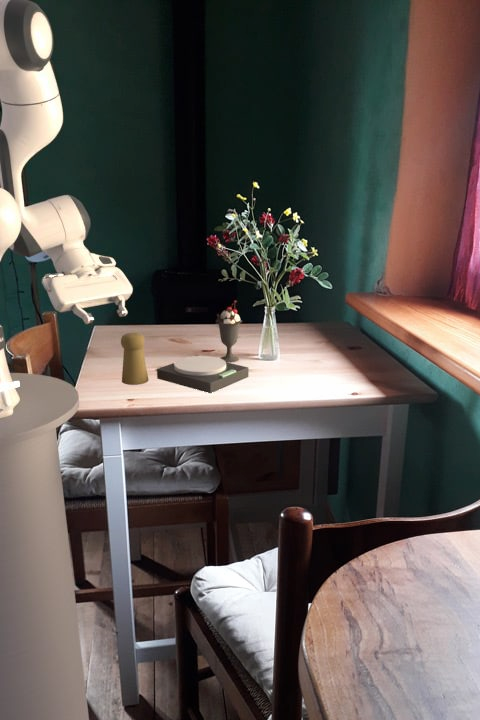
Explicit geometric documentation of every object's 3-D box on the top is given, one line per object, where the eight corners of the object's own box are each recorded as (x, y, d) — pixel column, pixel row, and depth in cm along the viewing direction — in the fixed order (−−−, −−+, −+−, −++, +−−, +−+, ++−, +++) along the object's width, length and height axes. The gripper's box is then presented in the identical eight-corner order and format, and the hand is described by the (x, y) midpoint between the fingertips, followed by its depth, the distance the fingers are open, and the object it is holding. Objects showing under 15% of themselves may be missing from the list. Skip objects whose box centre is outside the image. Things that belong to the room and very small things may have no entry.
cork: (145, 385, 138) (143, 337, 134) (118, 384, 138) (115, 337, 134) (150, 376, 144) (148, 330, 140) (125, 375, 144) (121, 330, 140)
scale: (210, 393, 134) (210, 378, 133) (157, 378, 143) (156, 364, 141) (248, 377, 145) (248, 363, 144) (196, 364, 153) (196, 350, 152)
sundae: (246, 357, 159) (246, 299, 154) (236, 364, 153) (236, 305, 148) (222, 354, 161) (222, 297, 156) (212, 361, 155) (211, 302, 150)
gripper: (42, 266, 134) (73, 318, 132) (118, 257, 149) (147, 303, 147) (33, 284, 138) (63, 334, 136) (108, 273, 153) (136, 318, 151)
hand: (107, 318), depth 142 cm, fingers open, 8 cm apart
